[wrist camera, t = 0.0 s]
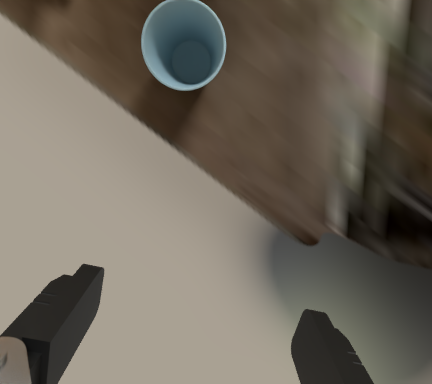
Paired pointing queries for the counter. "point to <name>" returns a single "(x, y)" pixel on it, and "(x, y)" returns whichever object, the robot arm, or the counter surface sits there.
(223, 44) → the cup
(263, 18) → the counter surface
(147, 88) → the counter surface
